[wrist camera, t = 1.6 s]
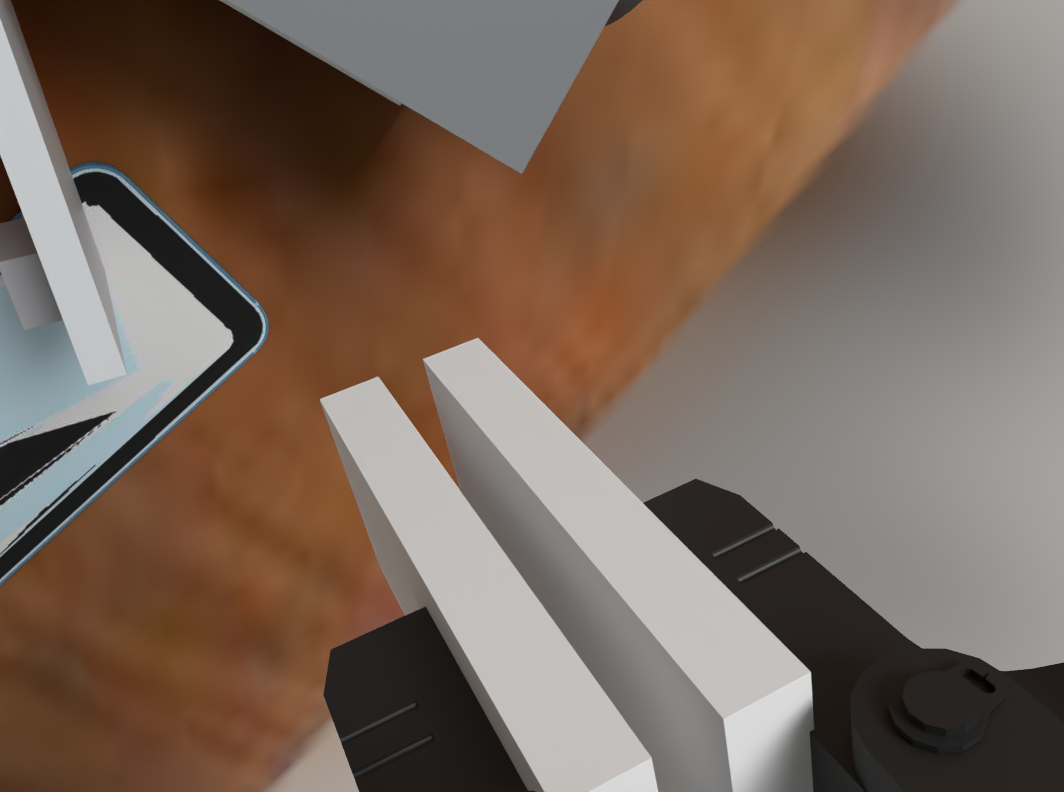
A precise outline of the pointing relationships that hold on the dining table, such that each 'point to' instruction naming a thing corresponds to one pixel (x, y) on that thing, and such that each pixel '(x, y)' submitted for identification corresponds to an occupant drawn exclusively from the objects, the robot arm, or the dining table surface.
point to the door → (49, 221)
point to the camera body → (454, 57)
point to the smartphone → (149, 355)
